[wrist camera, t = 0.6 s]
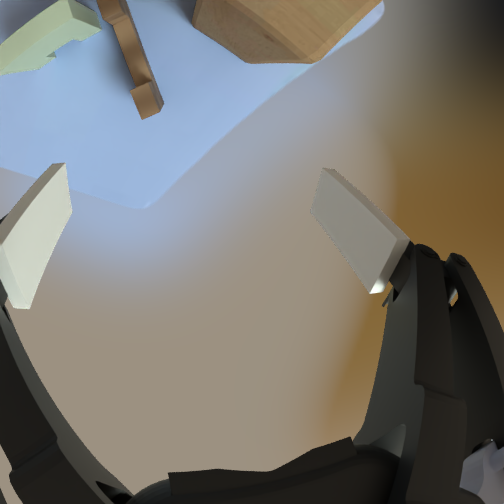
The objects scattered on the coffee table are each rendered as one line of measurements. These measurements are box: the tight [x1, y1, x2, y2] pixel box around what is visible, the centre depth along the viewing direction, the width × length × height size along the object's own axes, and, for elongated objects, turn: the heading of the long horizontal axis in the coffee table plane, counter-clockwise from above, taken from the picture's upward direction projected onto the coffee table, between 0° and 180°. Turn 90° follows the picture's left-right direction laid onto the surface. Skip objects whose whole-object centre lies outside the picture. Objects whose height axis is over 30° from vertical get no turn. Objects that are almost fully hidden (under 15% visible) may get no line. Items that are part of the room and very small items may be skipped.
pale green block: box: [0, 0, 102, 75], centre depth 17 cm, size 10×3×11 cm, turn 105°
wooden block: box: [191, 0, 382, 64], centre depth 19 cm, size 10×10×20 cm
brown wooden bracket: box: [97, 0, 164, 120], centre depth 23 cm, size 16×2×8 cm, turn 15°
